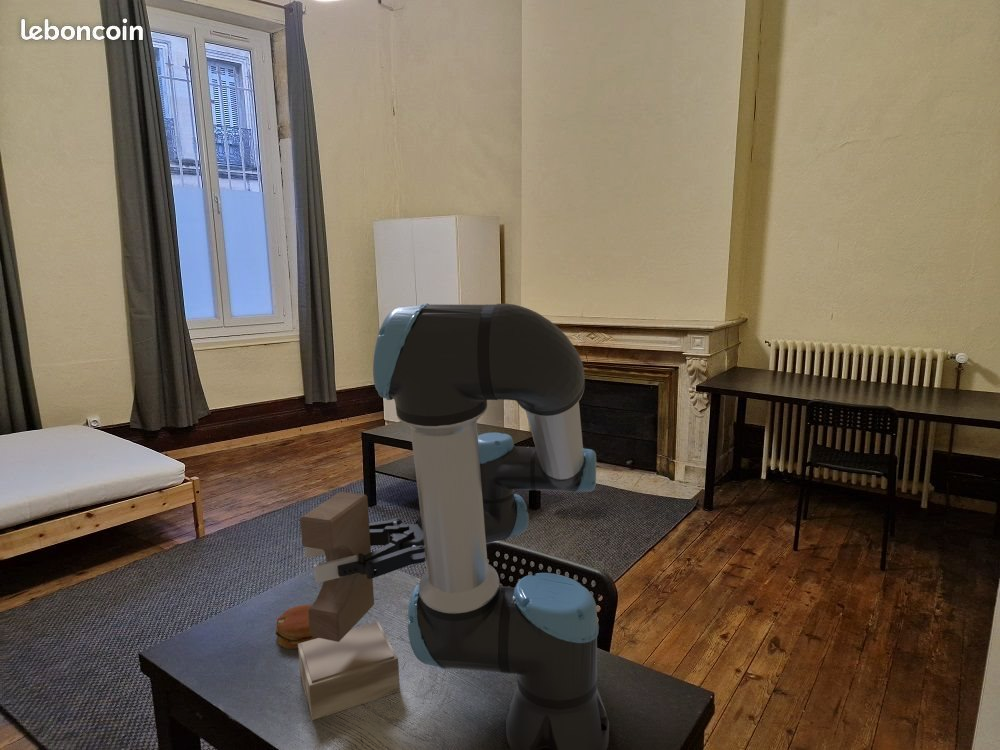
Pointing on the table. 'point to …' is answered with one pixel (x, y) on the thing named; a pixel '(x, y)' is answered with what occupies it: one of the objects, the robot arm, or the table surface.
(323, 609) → the decorative block
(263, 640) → the table surface
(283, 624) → the burger
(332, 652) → the plinth
